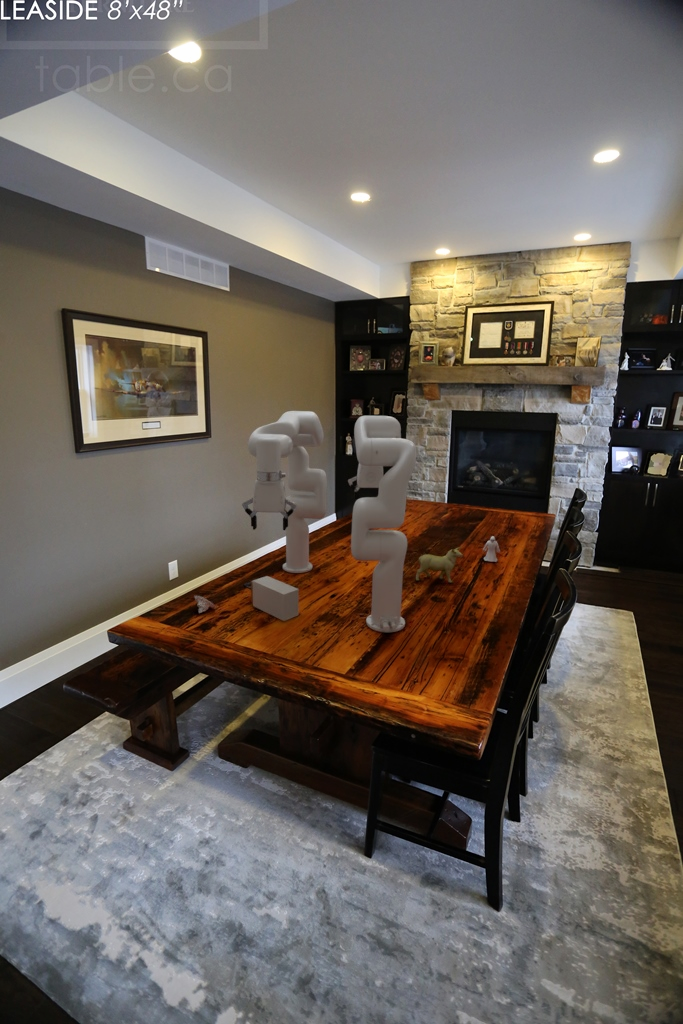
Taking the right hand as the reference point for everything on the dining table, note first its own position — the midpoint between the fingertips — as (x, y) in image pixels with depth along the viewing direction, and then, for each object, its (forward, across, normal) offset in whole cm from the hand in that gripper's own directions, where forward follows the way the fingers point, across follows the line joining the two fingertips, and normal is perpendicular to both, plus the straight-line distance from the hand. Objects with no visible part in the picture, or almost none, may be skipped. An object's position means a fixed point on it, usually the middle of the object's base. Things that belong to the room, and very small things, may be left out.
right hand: (369, 501), depth 198 cm
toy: (+31, +28, -8) cm, 42 cm away
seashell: (+31, -59, -34) cm, 74 cm away
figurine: (+31, +58, +16) cm, 67 cm away
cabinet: (+31, -35, -34) cm, 58 cm away
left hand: (+1, -36, -36) cm, 51 cm away
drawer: (+30, -39, -30) cm, 57 cm away
